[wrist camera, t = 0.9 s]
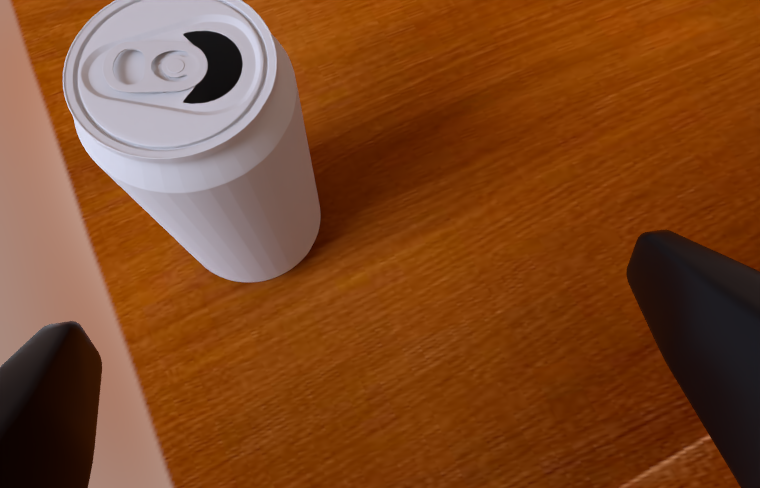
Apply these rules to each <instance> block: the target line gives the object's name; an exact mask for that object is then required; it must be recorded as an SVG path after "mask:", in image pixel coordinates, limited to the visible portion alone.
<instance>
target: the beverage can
mask: <svg viewBox="0 0 760 488" xmlns="http://www.w3.org/2000/svg"><path fill="white" fill-rule="evenodd" d="M63 90H64V95H65V99H66V102H67V105H68V107H69V110H70V112H71V113H72V115H73V117H74V122H75V127H76V131H77V134H78V136H79V138H80V141H81V143H82V144H83V146H84V148H85V150H86V151H87V153H88V154H89V155H90V157H91V158H92V159H93V160H94V161H95V162H96V163H97V165H99V166H100V167H101V168H102V169H103V170H104V171H105V172H106V173H107V174H108V175H109V176H110V177H111V178H112V179H113V180H114V181H115V182H116V183H117V184H118V185H119V186H120V187H122V188H123V189H124V190H125V191H126V192H127V193H128V194H129V195H130V196H131V197H132V198H133V199H134V200H135V201H136V202H137V203H138V204H139V205H140V206H141V207H142V208H143V209H144V210H146V211H147V212H148V213H149V214H150V215H151V216H152V217H153V218H154V219H155V220H156V221H157V222H158V223H159V224H160V225H161V226H162V227H163V228H164V229H165V230H166V231H167V232H168V233H170V234H171V235H172V236H173V237H174V238H175V239H176V240H177V241H178V242H179V243H180V244H181V245H182V246H183V247H184V248H185V249H186V250H187V251H188V252H189V253H190V254H191V255H192V256H194V257H195V258H196V259H197V260H198V261H199V262H200V263H201V264H202V265H203V266H204V267H205V268H207V269H208V270H209V271H211V272H212V273H214V274H216V275H218V276H220V277H223V278H225V279H228V280H232V281H237V282H260V281H265V280H269V279H272V278H275V277H277V276H280V275H282V274H284V273H286V272H287V271H289V270H291V269H292V268H293V267H295V266H296V265H297V264H298V263H299V262H300V261H301V260H302V259H303V258H304V257H305V256H306V255H307V254H308V252H309V251H310V249H311V247H312V245H313V243H314V241H315V239H316V237H317V234H318V231H319V226H320V219H321V212H320V204H319V199H318V194H317V189H316V183H315V178H314V173H313V168H312V163H311V157H310V152H309V147H308V142H307V136H306V131H305V126H304V121H303V115H302V110H301V105H300V100H299V94H298V89H297V84H296V79H295V74H294V70H293V67H292V64H291V62H290V59H289V57H288V55H287V53H286V52H285V50H284V49H283V47H282V46H281V44H280V43H279V42H278V40H277V39H276V38H275V37H274V36H273V35H272V34H271V33H270V30H269V29H268V27H267V25H266V24H265V22H264V21H263V20H262V18H261V17H260V16H259V15H258V14H257V13H256V12H255V11H254V10H253V9H252V8H251V7H250V6H249V5H248V4H246V3H245V2H243V1H242V0H115V1H114V2H112V3H110V4H109V5H107V6H106V7H104V8H103V9H102V10H100V11H99V12H98V13H97V14H96V15H94V16H93V17H92V18H91V19H90V20H89V21H88V22H87V23H86V24H85V26H84V27H83V28H82V29H81V31H80V32H79V33H78V35H77V36H76V38H75V39H74V41H73V43H72V45H71V47H70V49H69V52H68V54H67V57H66V60H65V65H64V70H63Z"/></svg>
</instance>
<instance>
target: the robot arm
mask: <svg viewBox="0 0 760 488" xmlns="http://www.w3.org/2000/svg"><path fill="white" fill-rule="evenodd" d="M627 279H628V283H629V285H630V287H631V289H632V292H633V294H634V296H635V298H636V300H637V302H638V304H639V307H640V309H641V311H642V313H643V315H644V317H645V320H646V322H647V324H648V326H649V328H650V330H651V333H652V335H653V337H654V339H655V341H656V343H657V345H658V348H659V350H660V351H661V353H662V355H663V357H664V359H665V361H666V363H667V365H668V366H669V368H670V370H671V372H672V373H673V375H674V377H675V378H676V380H677V382H678V383H679V385H680V387H681V388H682V390H683V392H684V393H685V395H686V397H687V398H688V400H689V402H690V403H691V405H692V407H693V408H694V410H695V412H696V413H697V415H698V417H699V418H700V420H701V422H702V423H703V425H704V427H705V428H706V430H707V432H708V433H709V435H710V437H711V438H712V440H713V442H714V443H715V445H716V447H717V448H718V450H719V452H720V453H721V455H722V457H723V458H724V460H725V462H726V463H727V465H728V467H729V468H730V470H731V472H732V473H733V475H734V477H735V478H736V480H737V482H738V483H739V485H740V487H741V488H760V272H759V271H757V270H755V269H753V268H750V267H748V266H746V265H744V264H742V263H740V262H737V261H735V260H733V259H731V258H729V257H726V256H724V255H722V254H720V253H718V252H715V251H713V250H711V249H709V248H707V247H705V246H702V245H700V244H698V243H696V242H694V241H691V240H689V239H687V238H685V237H683V236H680V235H678V234H676V233H674V232H672V231H669V230H657V231H651V232H645V233H643V234H641V235H640V236H639V237H638V239H637V242H636V244H635V247H634V250H633V253H632V255H631V258H630V261H629V264H628V267H627ZM101 374H102V362H101V358H100V355H99V353H98V351H97V350H96V348H95V347H94V345H93V344H92V342H91V340H90V339H89V337H88V336H87V334H86V333H85V331H84V330H83V328H82V327H81V326H80V324H78V323H77V322H73V321H70V322H62V323H56V324H50V325H47V326H45V327H43V328H42V329H41V330H39V331H38V332H37V333H36V334H35V335H34V336H33V337H32V338H31V339H30V340H29V341H27V342H26V343H25V344H24V345H23V346H22V347H21V348H20V349H19V350H18V351H17V352H16V353H15V354H14V355H13V356H11V357H10V358H9V359H8V360H7V361H6V362H5V363H4V364H3V365H2V366H1V367H0V488H88V483H89V479H90V473H91V468H92V463H93V455H94V447H95V436H96V426H97V415H98V405H99V395H100V385H101Z"/></svg>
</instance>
